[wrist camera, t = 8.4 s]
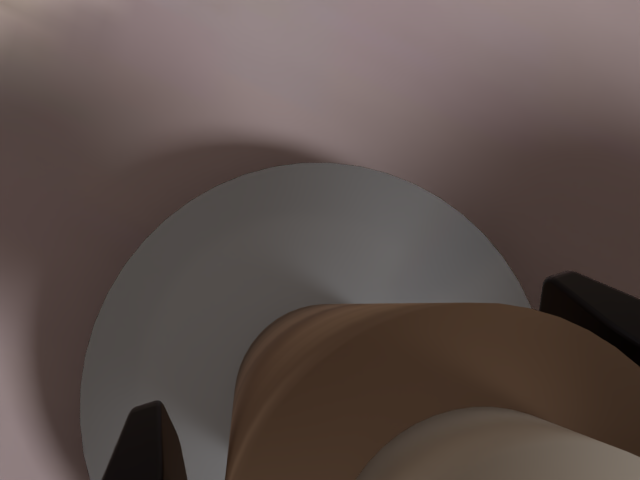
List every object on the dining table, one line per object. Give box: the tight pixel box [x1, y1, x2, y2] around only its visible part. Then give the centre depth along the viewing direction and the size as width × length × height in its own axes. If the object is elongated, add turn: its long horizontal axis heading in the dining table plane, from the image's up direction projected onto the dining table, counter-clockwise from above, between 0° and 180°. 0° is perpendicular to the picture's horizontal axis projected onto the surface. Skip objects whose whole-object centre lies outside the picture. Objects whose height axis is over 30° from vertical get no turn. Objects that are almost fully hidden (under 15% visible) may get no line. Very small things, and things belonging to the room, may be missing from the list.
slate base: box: [80, 163, 532, 480], centre depth 18 cm, size 13×13×2 cm
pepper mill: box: [225, 303, 640, 480], centre depth 10 cm, size 5×5×12 cm
